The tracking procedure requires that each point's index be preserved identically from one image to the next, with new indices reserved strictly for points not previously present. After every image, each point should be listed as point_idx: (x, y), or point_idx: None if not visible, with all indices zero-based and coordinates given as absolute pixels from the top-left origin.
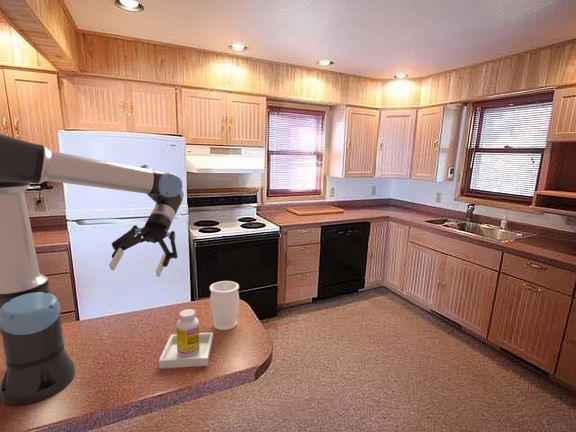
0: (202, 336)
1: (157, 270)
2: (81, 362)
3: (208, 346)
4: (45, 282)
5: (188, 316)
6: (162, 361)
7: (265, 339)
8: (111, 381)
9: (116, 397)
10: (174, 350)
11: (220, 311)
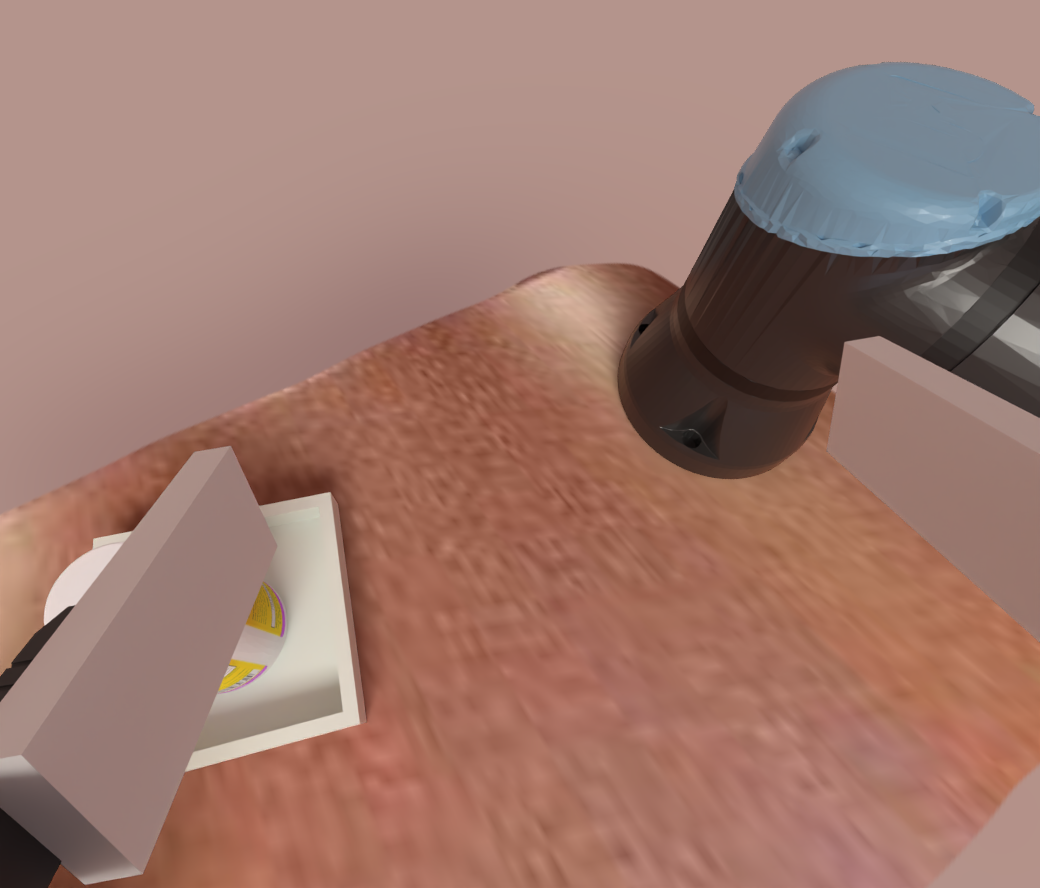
0: None
1: (201, 458)
2: (681, 503)
3: None
4: None
5: (92, 550)
6: (314, 496)
7: None
8: (486, 422)
9: (420, 362)
10: (311, 628)
11: None
